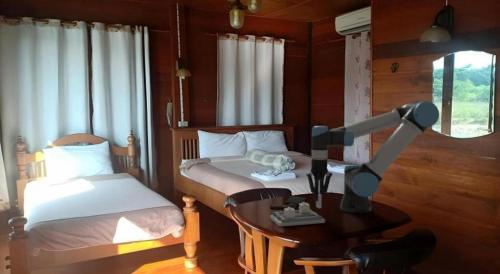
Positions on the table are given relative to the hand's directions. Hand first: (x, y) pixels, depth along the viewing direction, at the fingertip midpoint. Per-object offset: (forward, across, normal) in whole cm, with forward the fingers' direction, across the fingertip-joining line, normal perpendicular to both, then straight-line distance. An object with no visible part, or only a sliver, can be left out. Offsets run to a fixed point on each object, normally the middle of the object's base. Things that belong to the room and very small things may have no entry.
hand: (318, 207), depth 194 cm
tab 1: (+3, +18, +7) cm, 19 cm away
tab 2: (+3, +8, 0) cm, 8 cm away
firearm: (+5, +6, -27) cm, 28 cm away
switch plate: (+5, +12, +4) cm, 14 cm away
